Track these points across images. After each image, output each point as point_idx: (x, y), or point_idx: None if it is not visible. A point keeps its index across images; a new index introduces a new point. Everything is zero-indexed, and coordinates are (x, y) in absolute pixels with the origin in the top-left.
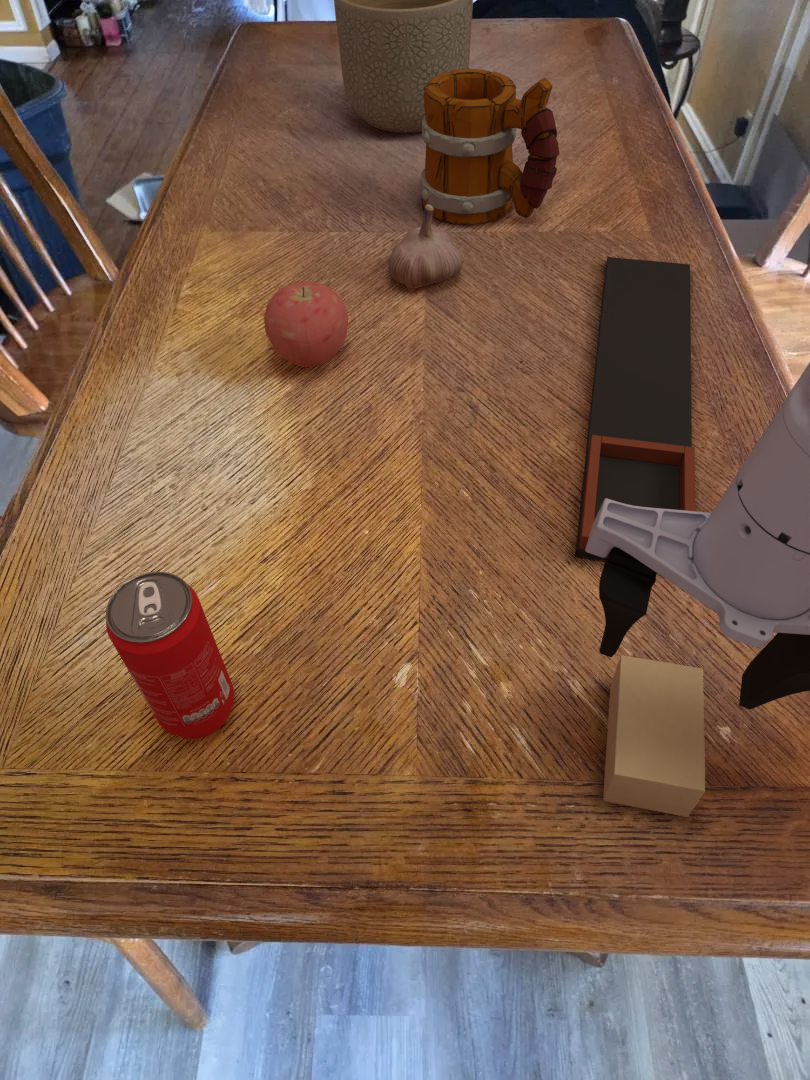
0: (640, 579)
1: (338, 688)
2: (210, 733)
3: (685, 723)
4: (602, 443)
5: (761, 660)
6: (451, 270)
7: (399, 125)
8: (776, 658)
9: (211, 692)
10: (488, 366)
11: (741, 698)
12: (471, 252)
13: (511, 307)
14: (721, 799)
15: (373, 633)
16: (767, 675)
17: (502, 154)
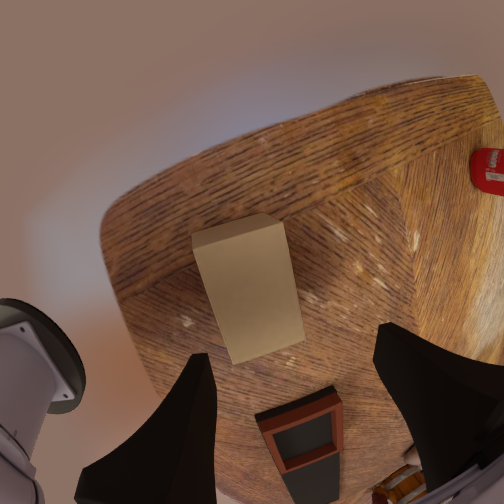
0: (491, 434)
1: (440, 212)
2: (472, 156)
3: (232, 308)
4: (336, 449)
5: (211, 420)
6: (410, 456)
7: (423, 475)
8: (203, 442)
9: (502, 166)
10: (389, 437)
11: (208, 362)
12: (396, 465)
13: (379, 462)
14: (170, 263)
15: (433, 259)
16: (200, 414)
17: (397, 499)
